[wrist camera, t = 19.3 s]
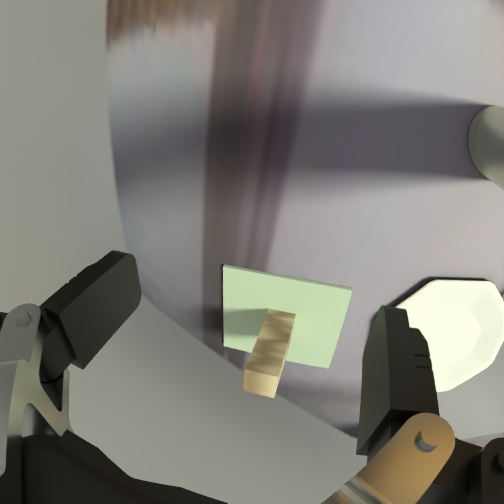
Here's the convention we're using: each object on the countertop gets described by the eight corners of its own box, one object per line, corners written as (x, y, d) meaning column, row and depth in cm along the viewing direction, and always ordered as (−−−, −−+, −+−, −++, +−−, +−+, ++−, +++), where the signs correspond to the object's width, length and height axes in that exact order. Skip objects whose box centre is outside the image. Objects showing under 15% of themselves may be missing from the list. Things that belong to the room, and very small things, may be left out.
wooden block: (295, 314, 44) (278, 377, 34) (291, 336, 46) (274, 397, 36) (269, 308, 45) (244, 369, 34) (266, 330, 47) (243, 390, 37)
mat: (352, 288, 40) (352, 290, 39) (328, 365, 48) (328, 368, 47) (224, 264, 44) (223, 266, 43) (225, 343, 52) (223, 345, 51)
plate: (523, 276, 31) (527, 282, 30) (476, 383, 42) (477, 389, 41) (382, 272, 38) (383, 278, 37) (361, 385, 49) (361, 392, 47)
